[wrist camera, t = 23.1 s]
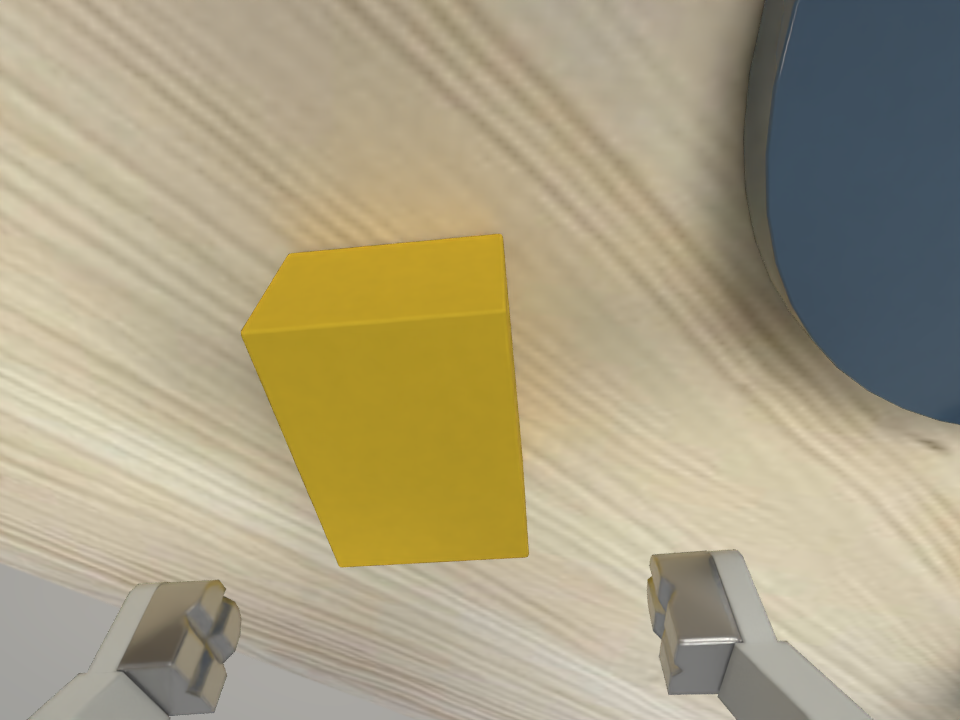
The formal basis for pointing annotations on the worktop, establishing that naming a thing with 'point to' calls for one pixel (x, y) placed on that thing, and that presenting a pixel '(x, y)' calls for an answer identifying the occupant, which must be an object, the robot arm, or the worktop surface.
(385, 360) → the yellow block
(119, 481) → the worktop surface
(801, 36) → the plate
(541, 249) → the worktop surface
